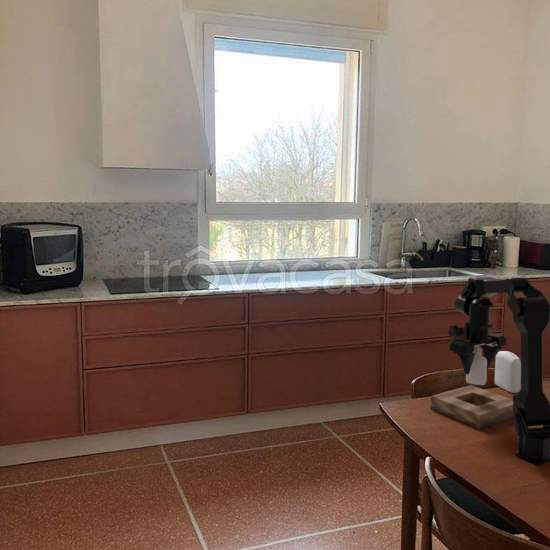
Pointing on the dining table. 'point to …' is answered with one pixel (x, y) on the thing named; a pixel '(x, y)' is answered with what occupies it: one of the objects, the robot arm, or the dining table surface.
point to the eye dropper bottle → (477, 369)
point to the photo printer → (508, 371)
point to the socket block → (473, 406)
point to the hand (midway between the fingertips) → (476, 371)
